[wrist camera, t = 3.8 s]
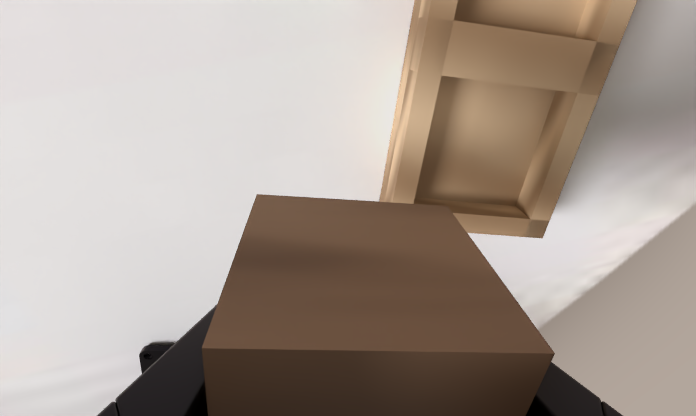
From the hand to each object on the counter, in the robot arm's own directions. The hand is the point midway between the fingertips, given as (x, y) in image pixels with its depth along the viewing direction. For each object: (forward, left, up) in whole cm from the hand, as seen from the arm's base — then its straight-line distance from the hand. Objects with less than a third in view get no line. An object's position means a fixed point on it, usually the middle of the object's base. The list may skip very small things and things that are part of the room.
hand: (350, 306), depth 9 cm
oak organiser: (+6, -7, -11) cm, 14 cm away
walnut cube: (0, 0, -1) cm, 1 cm away
